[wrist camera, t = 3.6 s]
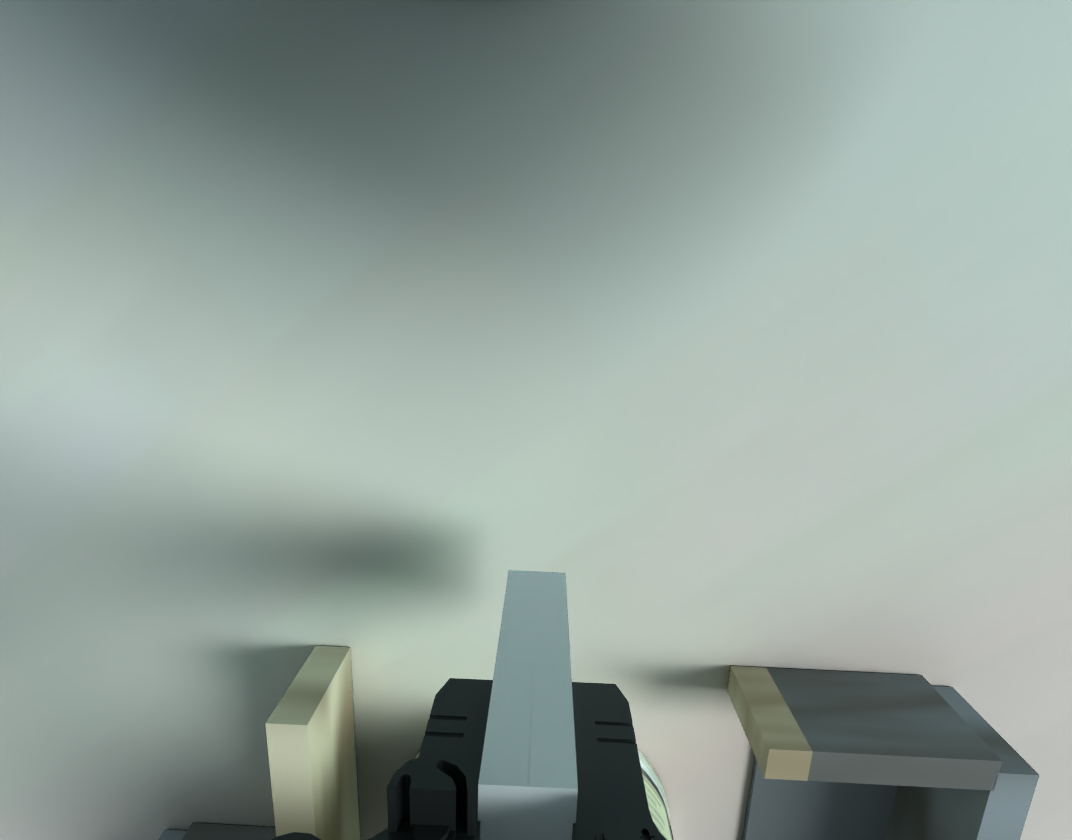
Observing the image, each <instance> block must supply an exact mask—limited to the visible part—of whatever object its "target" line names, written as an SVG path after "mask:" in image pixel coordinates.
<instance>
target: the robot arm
mask: <svg viewBox="0 0 1072 840" xmlns="http://www.w3.org/2000/svg"><path fill="white" fill-rule="evenodd" d="M387 801H388V827H387V828H386V829H385V830H384V831H382V832H381V833H379V834H378V835H376V836H374V837H373V838H371V839H368V840H667V839H666V838H665V837H664V836H663V835H662V834H661V833H660V832H659V830H658V828H657V827H656V825H655V823H654V822H653V820H652V817H651V813H650V810H649V806H648V801H647V796H646V791H645V786H644V780H643V775H642V770H641V765H640V760H639V754H638V749H637V744H636V739H635V733H634V728H633V726H632V718H631V713H630V707H629V702H628V701H627V699H626V698H625V697H624V695H623V694H622V693H621V691H620V690H619V688H618V687H617V686H616V684H602V683H580V682H572V679H571V661H570V644H569V627H568V610H567V593H566V575H565V573H558V572H534V571H511V570H509V572H508V579H507V586H506V593H505V600H504V607H503V614H502V621H501V628H500V635H499V642H498V649H497V656H496V663H495V670H494V677H493V680H477V679H455V678H450V679H449V680H448V681H447V682H446V684H445V685H444V686H443V687H442V688H441V689H440V691H439V692H438V693H437V694H436V696H435V699H434V703H433V706H432V710H431V714H430V719H429V721H428V724H427V728H426V732H425V736H424V739H423V742H422V746H421V749H420V753H419V757H418V758H415V759H413V760H411V761H408V762H407V763H406V764H405V765H403V766H402V767H401V768H400V769H399V770H398V771H397V772H395V774H394V775H393V777H392V779H391V781H390V783H389V784H388V786H387ZM271 840H321V839H319V838H318V837H316V836H314V835H313V834H311V833H300V832H292V833H288V834H285V835H281V836H277V837H274V838H273V839H271Z"/></svg>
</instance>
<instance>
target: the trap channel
mask: <svg viewBox="0 0 1072 840" xmlns="http://www.w3.org/2000/svg"><path fill="white" fill-rule="evenodd" d="M727 692H728V694H729V696H730V699H731V701H732V703H733V706H734V708H735V710H736V713H737V715H738V717H739V720H740V722H741V724H742V727H743V729H744V731H745V734H746V736H747V738H748V741H749V743H750V745H751V748H752V750H753V753H754V755H755V757H756V760H757V762H758V764H759V767H760V769H761V771H762V774H763V776H764V778H765V779H783V780H802V781H821V782H840V783H859V784H878V785H897V786H898V787H897V791H896V795H895V799H894V804H893V808H892V812H891V817H890V821H889V825H888V830H887V834H886V838H885V840H1020V837H1021V834H1022V830H1023V827H1024V824H1025V820H1026V817H1027V814H1028V811H1029V807H1030V804H1031V801H1032V797H1033V794H1034V791H1035V788H1036V784H1037V781H1038V778H1039V774H1038V773H1037V772H1036V771H1035V770H1034V769H1033V768H1032V767H1031V766H1030V765H1029V764H1028V763H1027V762H1026V761H1025V760H1024V759H1023V758H1022V757H1021V756H1020V755H1019V754H1018V753H1017V752H1016V751H1015V750H1014V749H1013V748H1012V747H1011V746H1010V745H1009V744H1008V743H1007V742H1006V741H1005V740H1004V739H1003V738H1002V737H1001V736H1000V735H999V734H998V733H997V732H996V731H995V730H994V729H993V728H992V727H991V726H990V725H989V724H988V723H987V722H986V721H985V720H984V719H983V718H982V717H981V716H980V715H979V714H978V713H977V712H976V711H975V710H974V709H973V707H972V706H971V705H970V704H969V703H968V702H967V701H966V700H965V699H964V698H963V697H962V696H961V695H960V694H959V693H958V692H957V691H956V690H955V689H954V688H953V687H943V686H931V685H930V683H929V682H928V681H927V680H926V679H925V678H924V677H923V676H922V675H908V674H888V673H867V672H846V671H826V670H805V669H785V668H764V667H744V666H731V667H730V675H729V682H728V689H727ZM265 726H266V736H267V746H268V757H269V767H270V777H271V788H272V798H273V808H274V819H275V827H259V826H241V825H223V824H205V823H192V825H191V826H190V828H189V829H188V831H181V830H165V831H164V833H163V834H162V835H161V837H160V838H159V840H271V839H273V838H274V837H277V836H281V835H285V834H288V833H292V832H300V833H311V834H313V835H314V836H316V837H318V838H319V839H321V840H360V825H359V805H358V786H357V766H356V747H355V727H354V708H353V688H352V669H351V649H350V647H334V646H315V648H314V649H313V651H312V652H311V654H310V655H309V657H308V658H307V660H306V661H305V663H304V665H303V666H302V668H301V669H300V671H299V672H298V674H297V675H296V677H295V678H294V680H293V681H292V683H291V684H290V686H289V688H288V689H287V691H286V692H285V694H284V695H283V697H282V698H281V700H280V701H279V703H278V704H277V706H276V708H275V709H274V711H273V712H272V714H271V715H270V717H269V718H268V720H267V721H266V723H265Z"/></svg>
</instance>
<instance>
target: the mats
mask: <svg viewBox="0 0 1072 840" xmlns="http://www.w3.org/2000/svg"><path fill="white" fill-rule="evenodd" d="M897 787H898V786H897V785H878V784H859V783H840V782H821V781H802V780H783V779H765V778H764V776H763V774H762V771H761V769H760V767H759V764H758V762H757V760H756V757H755V763H754V769H753V776H752V782H751V789H750V795H749V802H748V808H747V814H746V821H745V827H744V834H743V840H885V838H886V834H887V830H888V825H889V821H890V817H891V812H892V808H893V804H894V799H895V795H896V791H897Z"/></svg>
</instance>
